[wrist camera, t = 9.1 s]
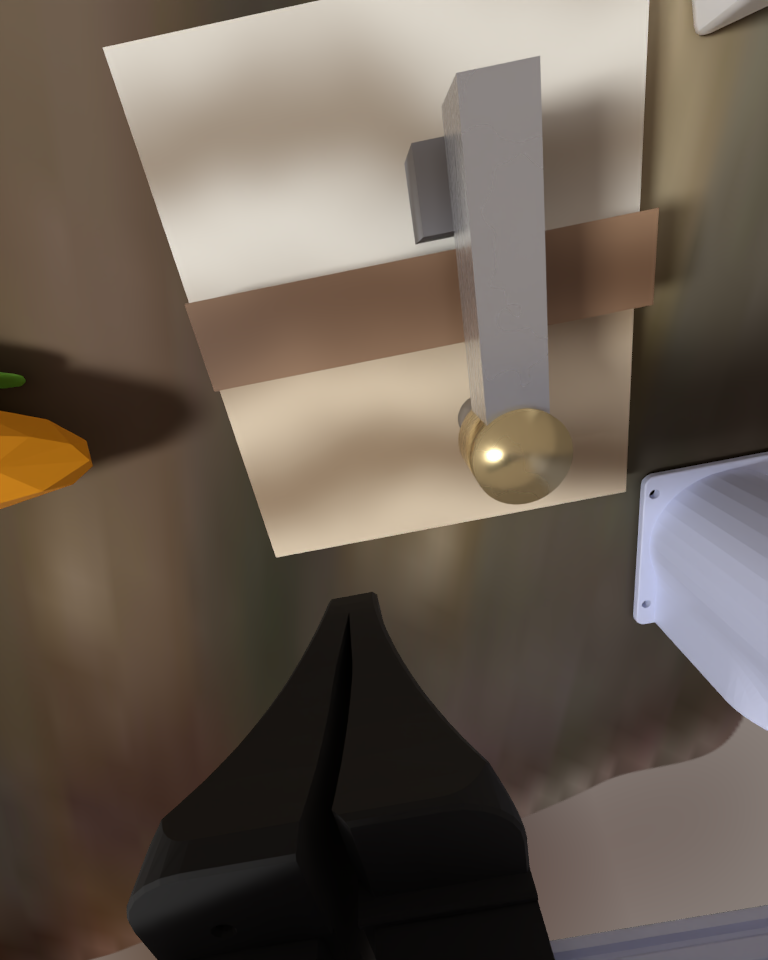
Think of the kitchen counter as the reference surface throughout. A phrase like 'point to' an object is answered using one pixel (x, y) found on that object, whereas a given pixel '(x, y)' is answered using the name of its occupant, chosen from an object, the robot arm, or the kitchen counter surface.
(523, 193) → the bar
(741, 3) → the container
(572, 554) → the kitchen counter surface
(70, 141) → the kitchen counter surface
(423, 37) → the brown-striped cream panel
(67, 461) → the corn
